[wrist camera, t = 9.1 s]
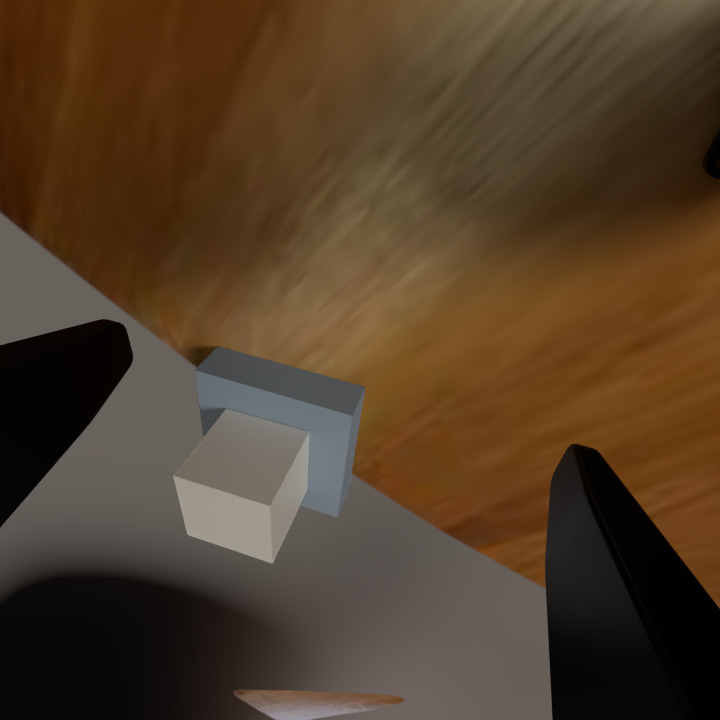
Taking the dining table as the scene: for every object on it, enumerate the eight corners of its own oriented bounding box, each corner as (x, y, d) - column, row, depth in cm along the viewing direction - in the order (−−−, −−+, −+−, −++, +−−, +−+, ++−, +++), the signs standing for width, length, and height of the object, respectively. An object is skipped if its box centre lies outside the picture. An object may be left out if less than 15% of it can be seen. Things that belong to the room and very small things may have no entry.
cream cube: (309, 431, 25) (269, 506, 21) (307, 489, 28) (272, 563, 24) (226, 408, 25) (173, 475, 21) (233, 466, 28) (187, 534, 24)
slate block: (367, 381, 25) (352, 416, 23) (351, 481, 31) (337, 517, 28) (223, 341, 27) (194, 370, 24) (231, 443, 32) (209, 475, 30)
